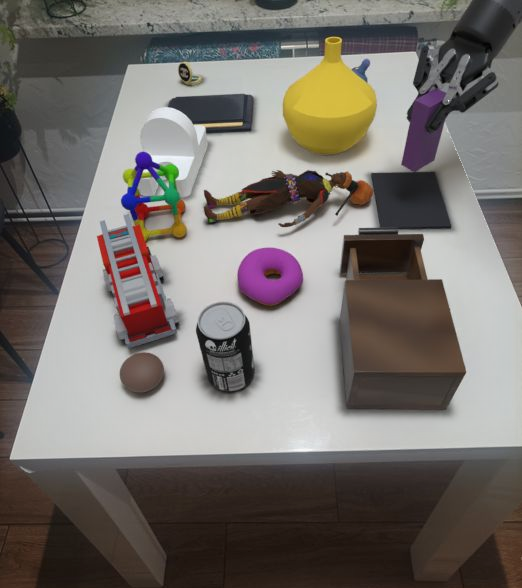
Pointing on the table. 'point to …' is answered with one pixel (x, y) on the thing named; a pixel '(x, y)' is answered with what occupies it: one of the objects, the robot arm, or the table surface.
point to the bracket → (173, 148)
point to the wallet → (217, 111)
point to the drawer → (382, 255)
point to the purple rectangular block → (422, 132)
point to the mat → (410, 200)
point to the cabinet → (399, 345)
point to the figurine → (288, 194)
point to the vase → (329, 105)
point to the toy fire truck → (135, 286)
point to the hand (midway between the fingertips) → (419, 125)
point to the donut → (268, 263)
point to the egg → (141, 372)
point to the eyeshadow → (188, 74)
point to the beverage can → (226, 345)
